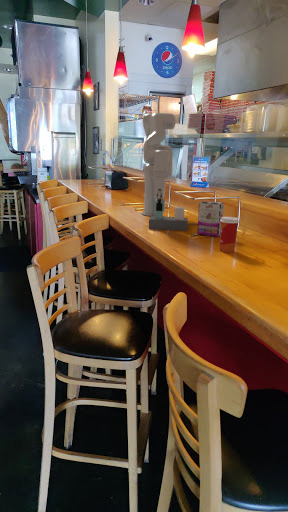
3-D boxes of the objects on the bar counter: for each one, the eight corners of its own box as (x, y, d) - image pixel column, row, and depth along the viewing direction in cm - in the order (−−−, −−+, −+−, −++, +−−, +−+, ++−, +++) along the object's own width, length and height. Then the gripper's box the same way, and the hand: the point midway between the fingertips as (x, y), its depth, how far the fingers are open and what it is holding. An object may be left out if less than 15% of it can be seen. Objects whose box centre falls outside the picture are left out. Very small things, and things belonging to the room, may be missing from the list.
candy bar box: (221, 235, 183) (224, 202, 178) (218, 237, 178) (221, 203, 174) (200, 232, 188) (202, 200, 183) (196, 234, 183) (198, 201, 179)
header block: (150, 224, 203) (151, 205, 199) (187, 226, 200) (188, 206, 197) (148, 228, 193) (149, 207, 190) (187, 230, 191) (188, 209, 188)
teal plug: (154, 220, 199) (155, 199, 196) (164, 221, 199) (165, 199, 195) (154, 222, 194) (154, 200, 191) (163, 222, 194) (164, 201, 191)
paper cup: (222, 247, 160) (225, 215, 156) (239, 250, 155) (242, 218, 151) (213, 251, 154) (216, 218, 150) (230, 254, 149) (233, 220, 145)
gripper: (155, 173, 198) (154, 207, 203) (151, 176, 182) (150, 212, 187) (169, 174, 197) (167, 207, 202) (167, 176, 181) (165, 213, 186)
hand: (159, 209), depth 195 cm, fingers closed on teal plug, 5 cm apart
